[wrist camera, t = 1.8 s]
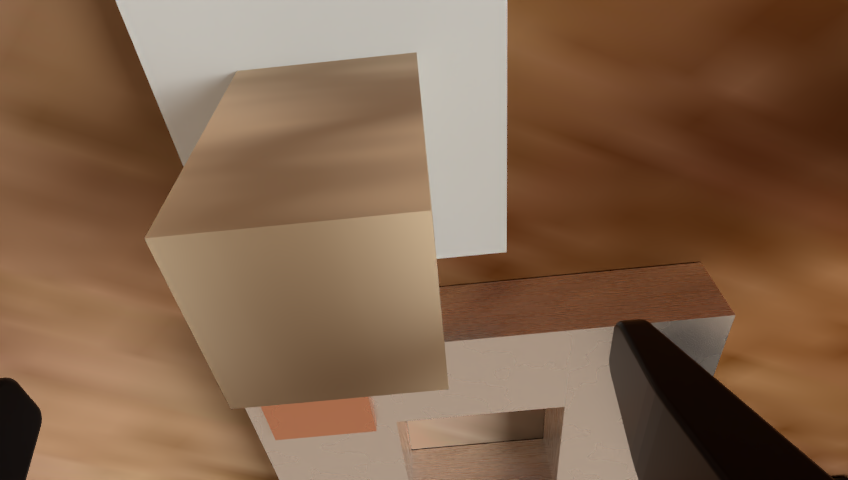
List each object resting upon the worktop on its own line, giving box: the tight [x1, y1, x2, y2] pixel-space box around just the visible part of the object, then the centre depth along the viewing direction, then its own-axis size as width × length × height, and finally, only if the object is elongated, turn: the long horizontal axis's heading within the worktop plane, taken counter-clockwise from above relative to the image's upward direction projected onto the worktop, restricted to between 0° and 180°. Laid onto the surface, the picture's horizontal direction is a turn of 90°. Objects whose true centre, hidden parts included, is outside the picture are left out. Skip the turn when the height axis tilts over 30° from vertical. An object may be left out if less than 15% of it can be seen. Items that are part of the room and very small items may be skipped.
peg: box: [144, 52, 449, 409], centre depth 11 cm, size 4×4×6 cm
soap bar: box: [115, 0, 507, 259], centre depth 15 cm, size 8×8×2 cm
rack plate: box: [245, 262, 735, 480], centre depth 23 cm, size 16×14×3 cm
